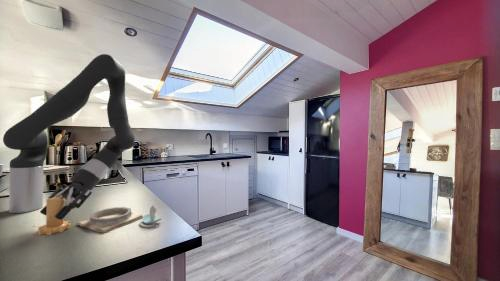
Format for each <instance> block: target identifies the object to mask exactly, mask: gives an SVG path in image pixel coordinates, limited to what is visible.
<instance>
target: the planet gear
mask: <svg viewBox="0 0 500 281" xmlns="http://www.w3.org/2000/svg"><path fill="white" fill-rule="evenodd" d="M48 198H49V197H48ZM48 198H47V199H46V205H47V209H46V215H45V216H46V218H45V219H46V221H45V222H46V223H45V224H44V225H42V226H39V227H38V230H37V231H38V233H37V234H38V236H40V235H46V236H49V235H50V236H51V235H52V234H53V235H54V234H57V233H62V232H64V231H66V230H67V229H71V221H70V220H67V221H65V220H64V218H65V217H64V218H63V219H62V220H59V219H57V218H55V215H56V214H57V213H58V212H59V211H60V210H61V209H62V208H63V207H64V206H65V205H64V204H65V202H64V197H55V196H54V197H53V198H49V199H48ZM65 229H66V230H65Z"/></svg>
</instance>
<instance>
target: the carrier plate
mask: <svg viewBox="0 0 500 281" xmlns="http://www.w3.org/2000/svg"><path fill="white" fill-rule="evenodd" d="M143 217H144V216H143V214H138V213H136V212H135V213H134V212H132V210H131V208H129V207H124V206H122V207H121V206H120V207H119V206H118V207H110V208H109V207H108V208H103V209H101V210H96V211H95V212H93V213H91V214H90V216H89V218H85V219H82V220H79V221H77V222H76V226H78V225H80V226H79V227H82V226H83V227H82V228H85V227H86V229H88V230H92V231H95V232H98V233H102V234H105V233H108V232H110V231H113V230H115V229H118V228H120V227H123V226H125V225H129V224H131V223H133V222H136V221H139V220H141V219H143Z"/></svg>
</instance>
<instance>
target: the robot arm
mask: <svg viewBox="0 0 500 281" xmlns="http://www.w3.org/2000/svg"><path fill="white" fill-rule="evenodd" d="M103 80H106V82H107V86H108V90H109V96H108V101H107V104H106V114H107V118H108V120H107V121H108V125H109V127H110V128H111V129H113V131H114V136H112V137H111V138H110V139H109V140H108V141H107V142H106V143H105V145H104V146H103V147H102V148H101V150H99V151H98V152H97V153H96V154H95V155H94V156H93V157H92V158H91V159H90V160H89V161H87V162H86V163H84V164H83V165H82V167H80V168H79V169H78V170H77V172H75V173H73V175H72V176H71V177H70V181H71V183H70V184H69V185H66V183H64V184H62V185H61V186H59V187H58V189H56V190H55V191H54V192H53V193H52V194H51V195H50V196H48V198H47V199H49V198H53V197H64V203H65V202H66V203H65V205H64V207H63V208H62V209H61V210H60V211H59V212H58V213H57V214H56V215H55V218H57V219H59V220H62V219H63V218H65V217H66V216H67V215H68V214H69V213H70V212H71V211H72V210H74V209H79V208H80V207H82V205H83V204H84V203H85V202H86V200H87V199H88V198H89V197H90V196H91V195H92V193H93V192H92V190H93V189H94V188H95V187H96V186H97V185H98V184H99V182H100V181H101V180H102V179H103V178H104V177H105V176H106V174H108V172H109V171H110V169H112V167H114V165H115V164H116V163H117V162H118V159H119V157H120V155H121V154H122V153H123V152H125V151H127V150H130V149H132V148H133V147H134V145H135V141H136V140H135V134H134V132H133V129H132V127H131V125H130V123H129V115H128V110H127V104H126V103H127V102H126V70H125V67H124V65H123V64H122V63H121V62H119V61H118V60H117V59H115V58H114V57H113V56H112V55H110V54H107V53H103V54H99V55H97V56H95V57H94V58H92V60H91V61H90V62H89V63H88V64H87V65H86V67H85V68H84V69H82V70H81V72H80V73H79V74H77V75H76V76H75V77H73V79H72V80H71V81H69V82H68V83H67V84H66V85H64V87H62V88H61V89H60V90H58V91H57V92H56V93H55V94H54V95H52V96H51V97H50V98H48V100H46V101H45V102H44V103H43V104H42V105H41V106H39V107H38V108H37V109H35V110H34V111H33V112H32V113H31V114H29V115H28V116H26V117H25V118H24V119H21V120H20V121H18V122H17V123H15V124H14V125H12V126H11V127H10V128H8V129H7V130H6V131H5V133H4V134H3V136H2V142H3V144H4V146H5V147H6V148H8V149H9V150H15V151H19V154H18V155H17V156H15V157H14V158H12V159H11V160H10V161H9V187H8V188H9V192H8V194H9V195H8V213H9V214H10V213H11V214H22V213H28V212H33V211H36V210H40V209H41V210H40V211H39V213H40V214H42V215H44V216H46V209H47V204H46V205H45V206H44V205H43V204H44V203H43V202H44V163H45V160H46V158H47V153H48V142H49V141H48V136H47V133H46V131H45V130H47V129H48V128H49V127H52V126H54V125H56V124H58V123H60V122H63V121H65V120H67V119H69V118H72V117H73V116H74V115H76V113H78V112H79V111H80V110H81V109H83V108H84V107H85V106H86V105H87V103H88V101H89V99H90V96H91V92H92V90H93V89H94V88H95V87H96V86H97V85H98V84H99V83H100V82H101V81H103ZM43 206H44V207H43ZM63 220H64V219H63Z"/></svg>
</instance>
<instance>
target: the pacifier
mask: <svg viewBox="0 0 500 281" xmlns="http://www.w3.org/2000/svg"><path fill="white" fill-rule="evenodd" d="M157 210H158V209H157V206H156V205H151V207H150V208H149V214H145V215H144V216H143V218H142V221H140V222H139V226H140V227H142V228H152V227H155V226H156V224H157V222H160V221H161V220H162V218H158V219H157V218H156V217H157V216H156V213H157Z"/></svg>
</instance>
